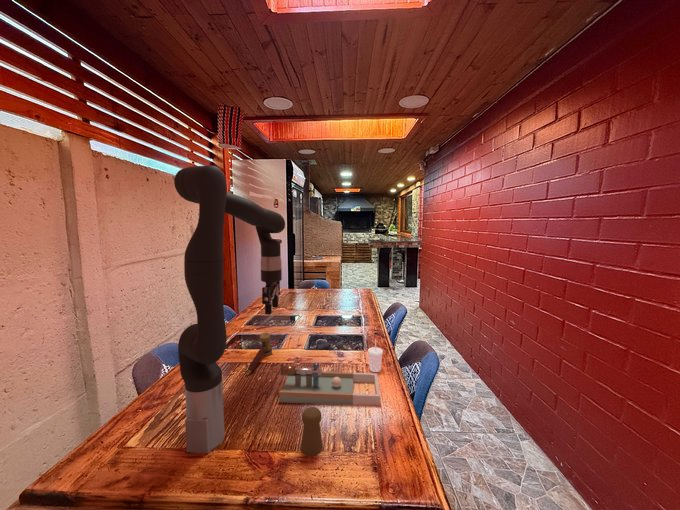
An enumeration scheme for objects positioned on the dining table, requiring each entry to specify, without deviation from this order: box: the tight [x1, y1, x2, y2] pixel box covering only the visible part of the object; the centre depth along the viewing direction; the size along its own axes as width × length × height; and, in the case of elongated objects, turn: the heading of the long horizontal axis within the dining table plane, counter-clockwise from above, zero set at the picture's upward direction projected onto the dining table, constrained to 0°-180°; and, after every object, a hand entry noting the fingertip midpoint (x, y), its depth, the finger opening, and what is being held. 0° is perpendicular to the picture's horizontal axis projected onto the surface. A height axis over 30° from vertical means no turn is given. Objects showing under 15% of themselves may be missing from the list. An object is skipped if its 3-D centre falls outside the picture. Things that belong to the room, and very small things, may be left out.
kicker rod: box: [280, 362, 323, 387], centre depth 99 cm, size 3×14×8 cm, turn 87°
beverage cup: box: [367, 338, 384, 373], centre depth 113 cm, size 6×6×14 cm
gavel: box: [246, 332, 273, 376], centre depth 119 cm, size 21×5×10 cm, turn 171°
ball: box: [332, 377, 341, 387], centre depth 99 cm, size 4×4×4 cm
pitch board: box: [278, 370, 381, 406], centre depth 99 cm, size 14×34×7 cm, turn 87°
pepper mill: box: [300, 406, 324, 457], centre depth 74 cm, size 6×6×11 cm
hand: (272, 310), depth 103 cm, fingers open, 8 cm apart
